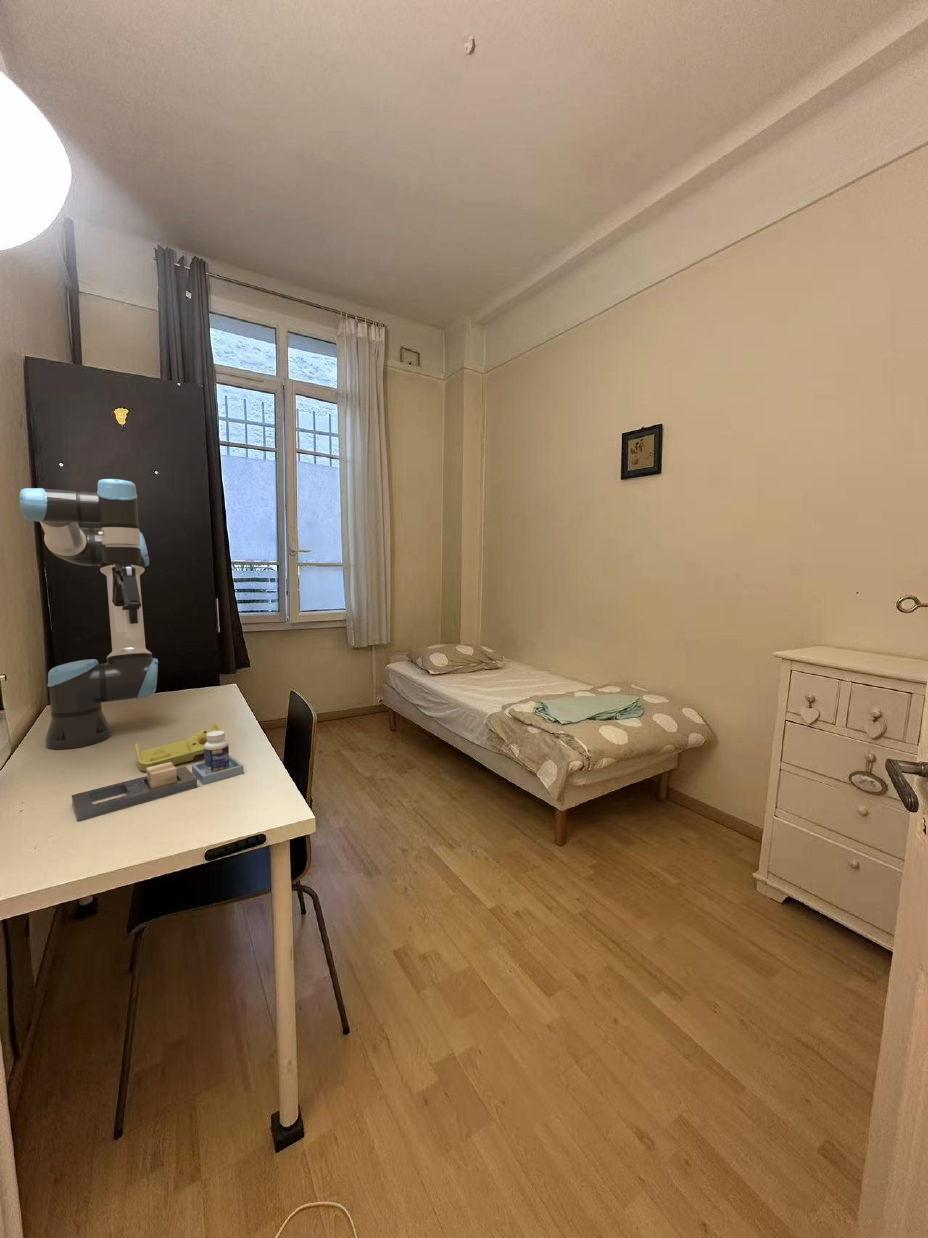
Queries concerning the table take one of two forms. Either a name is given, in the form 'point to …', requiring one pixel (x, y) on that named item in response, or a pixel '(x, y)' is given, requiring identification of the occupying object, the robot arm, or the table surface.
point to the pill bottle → (216, 752)
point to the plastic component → (174, 751)
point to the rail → (128, 794)
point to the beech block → (161, 775)
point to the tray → (205, 778)
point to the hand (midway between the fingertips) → (128, 634)
